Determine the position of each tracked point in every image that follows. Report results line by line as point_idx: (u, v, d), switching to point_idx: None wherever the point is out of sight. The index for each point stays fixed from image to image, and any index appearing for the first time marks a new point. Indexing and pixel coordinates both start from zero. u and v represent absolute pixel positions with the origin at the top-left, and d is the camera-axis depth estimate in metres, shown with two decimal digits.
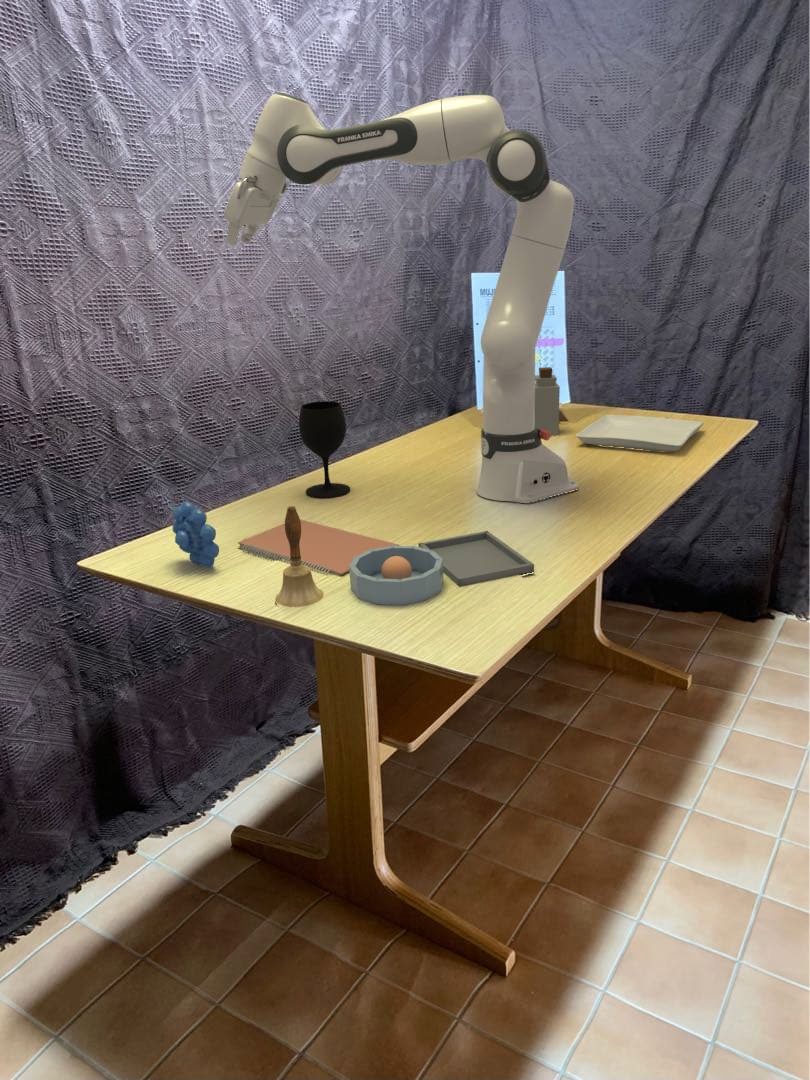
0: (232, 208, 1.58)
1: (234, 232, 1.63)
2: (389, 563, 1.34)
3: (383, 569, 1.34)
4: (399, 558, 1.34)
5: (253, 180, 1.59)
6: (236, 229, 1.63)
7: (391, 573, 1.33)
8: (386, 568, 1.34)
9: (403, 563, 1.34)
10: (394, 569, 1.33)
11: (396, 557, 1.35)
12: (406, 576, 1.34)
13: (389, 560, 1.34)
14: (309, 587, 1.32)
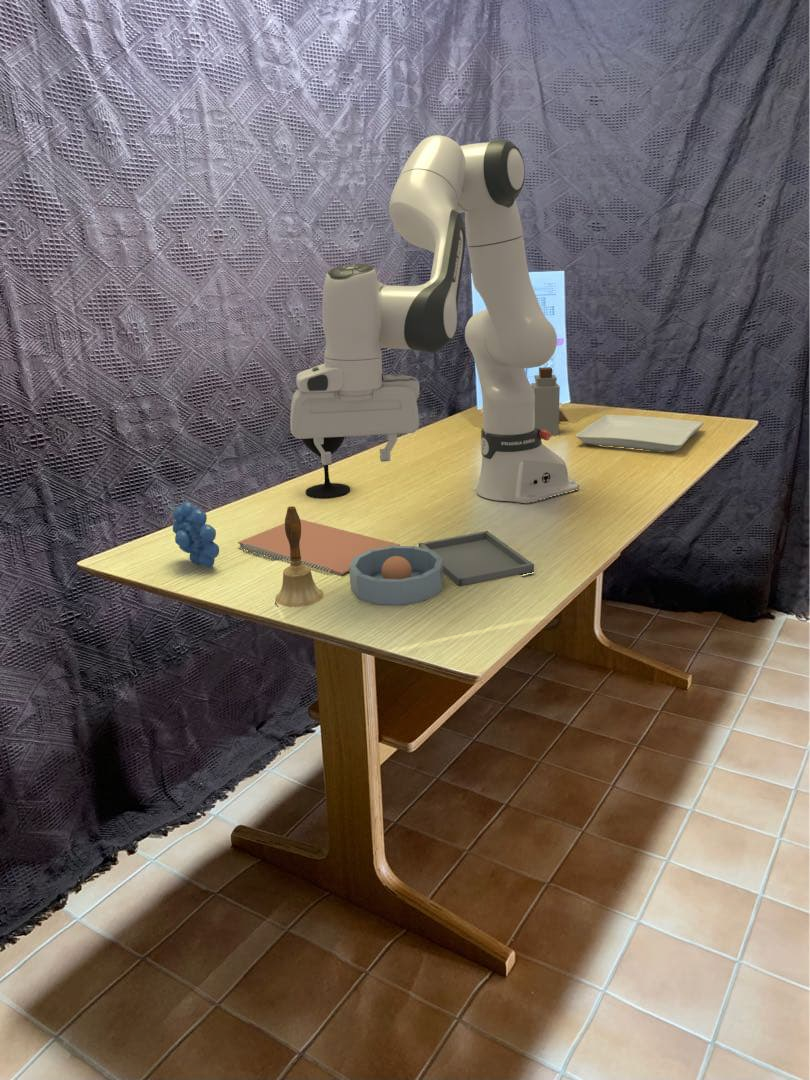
0: None
1: None
2: (389, 563, 1.34)
3: (383, 569, 1.34)
4: (399, 558, 1.34)
5: None
6: None
7: (391, 573, 1.33)
8: (386, 568, 1.34)
9: (403, 563, 1.34)
10: (394, 569, 1.33)
11: (396, 557, 1.35)
12: (406, 576, 1.34)
13: (389, 560, 1.34)
14: (309, 587, 1.32)
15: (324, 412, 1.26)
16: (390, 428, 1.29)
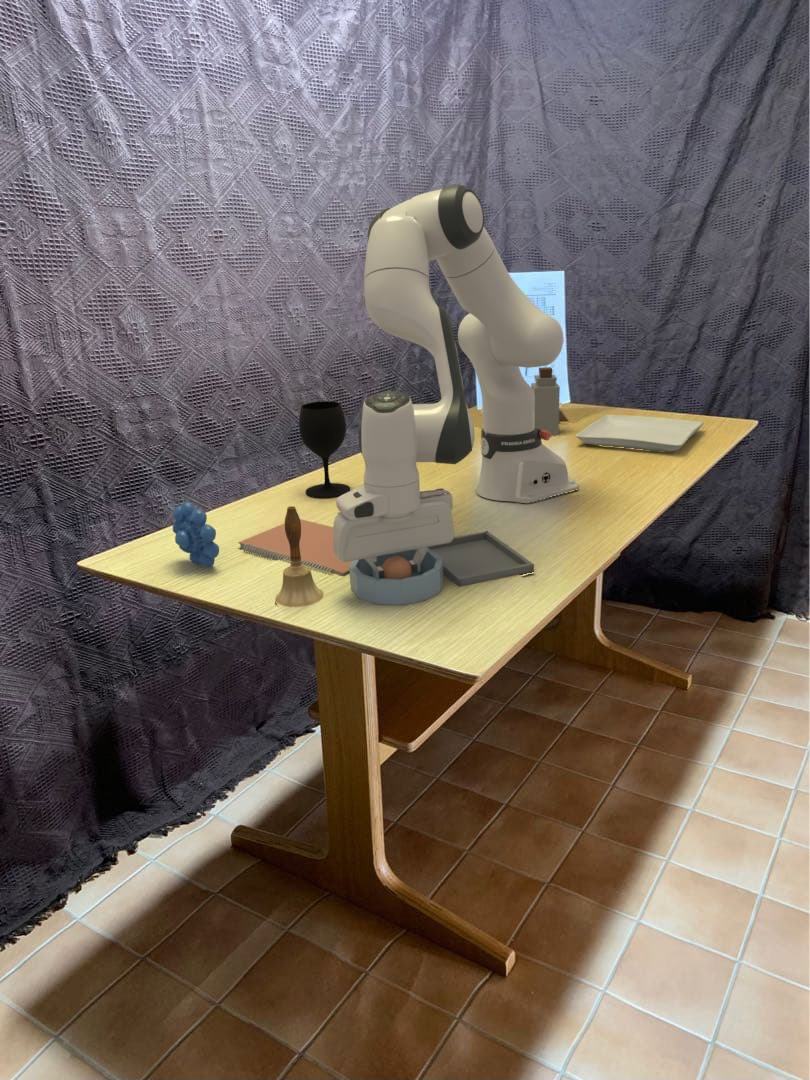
0: None
1: None
2: (389, 563, 1.34)
3: (383, 569, 1.34)
4: (399, 558, 1.34)
5: None
6: None
7: (391, 573, 1.33)
8: (387, 568, 1.34)
9: (403, 563, 1.34)
10: (394, 569, 1.33)
11: (396, 557, 1.35)
12: (406, 576, 1.34)
13: (389, 560, 1.34)
14: (309, 587, 1.32)
15: (368, 534, 1.30)
16: (429, 541, 1.34)
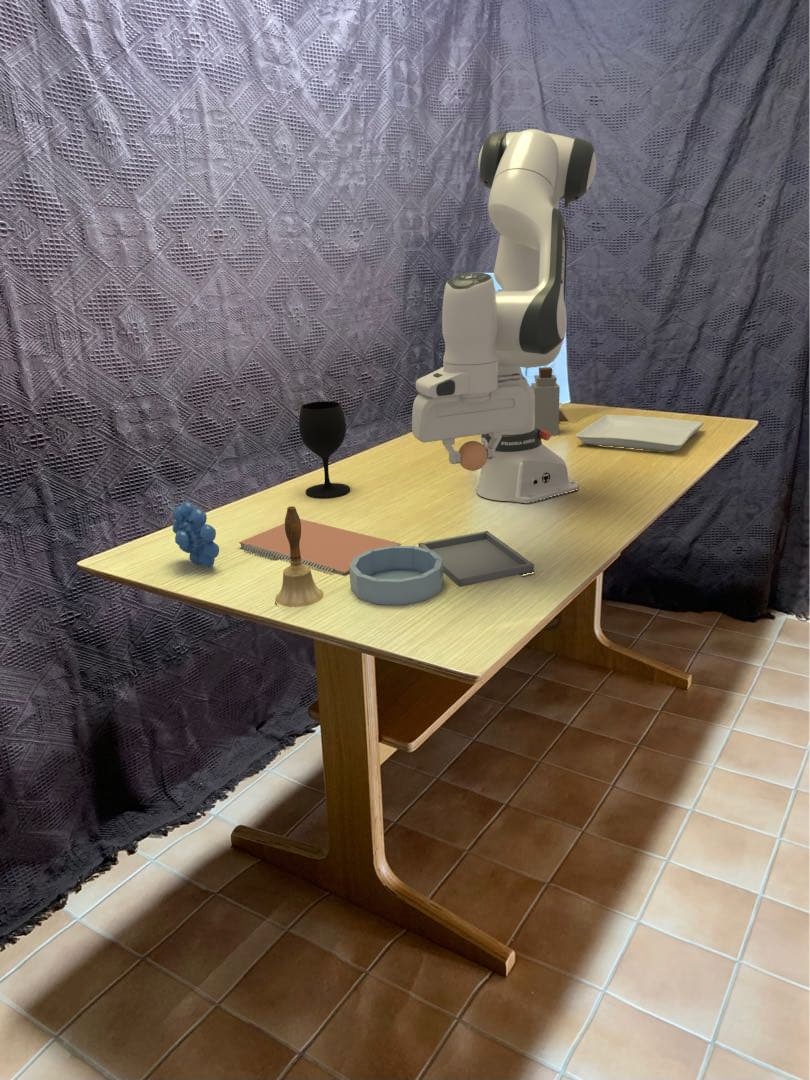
0: None
1: None
2: (466, 447, 1.36)
3: None
4: (476, 442, 1.37)
5: None
6: None
7: (469, 456, 1.36)
8: (464, 451, 1.36)
9: (480, 446, 1.36)
10: (472, 452, 1.36)
11: (472, 441, 1.37)
12: (483, 459, 1.36)
13: (466, 444, 1.37)
14: (309, 587, 1.32)
15: (448, 415, 1.32)
16: (505, 425, 1.37)
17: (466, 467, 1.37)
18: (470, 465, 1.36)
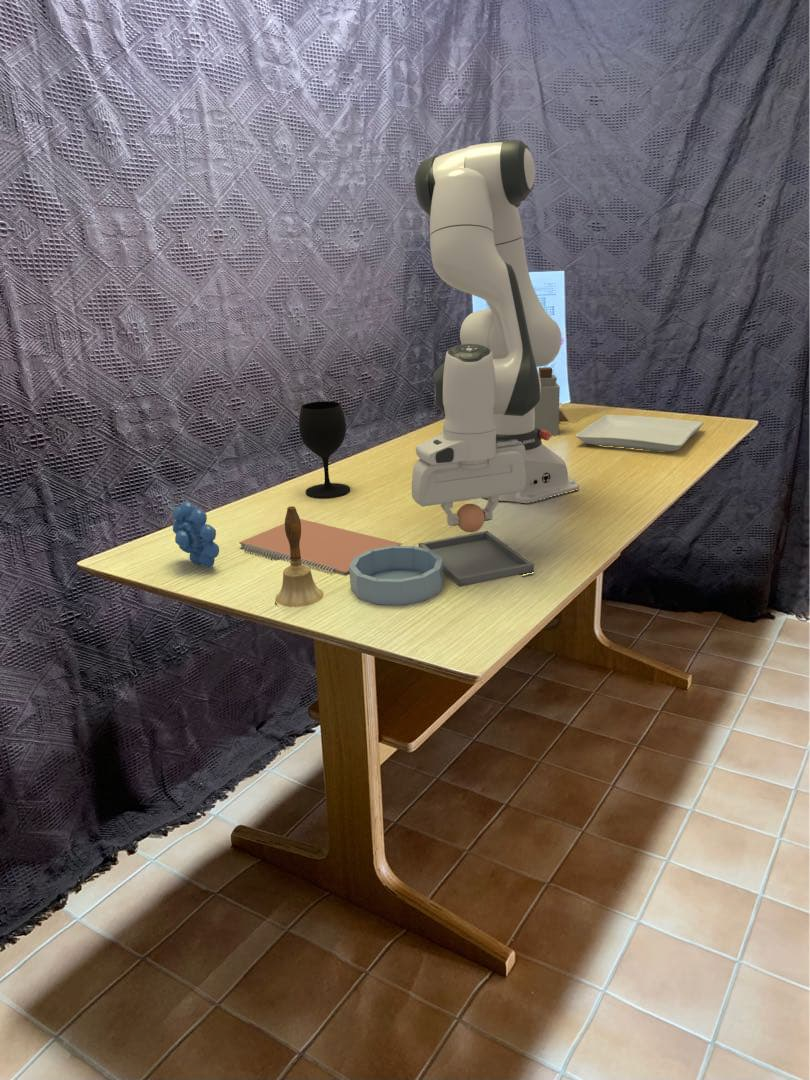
0: None
1: None
2: (464, 510, 1.40)
3: (458, 515, 1.41)
4: (473, 505, 1.41)
5: None
6: None
7: (466, 519, 1.40)
8: (462, 514, 1.40)
9: (477, 510, 1.40)
10: (469, 515, 1.40)
11: (470, 504, 1.41)
12: (480, 522, 1.40)
13: (464, 507, 1.41)
14: (309, 587, 1.32)
15: (446, 480, 1.36)
16: (502, 490, 1.40)
17: (464, 529, 1.41)
18: (468, 528, 1.40)
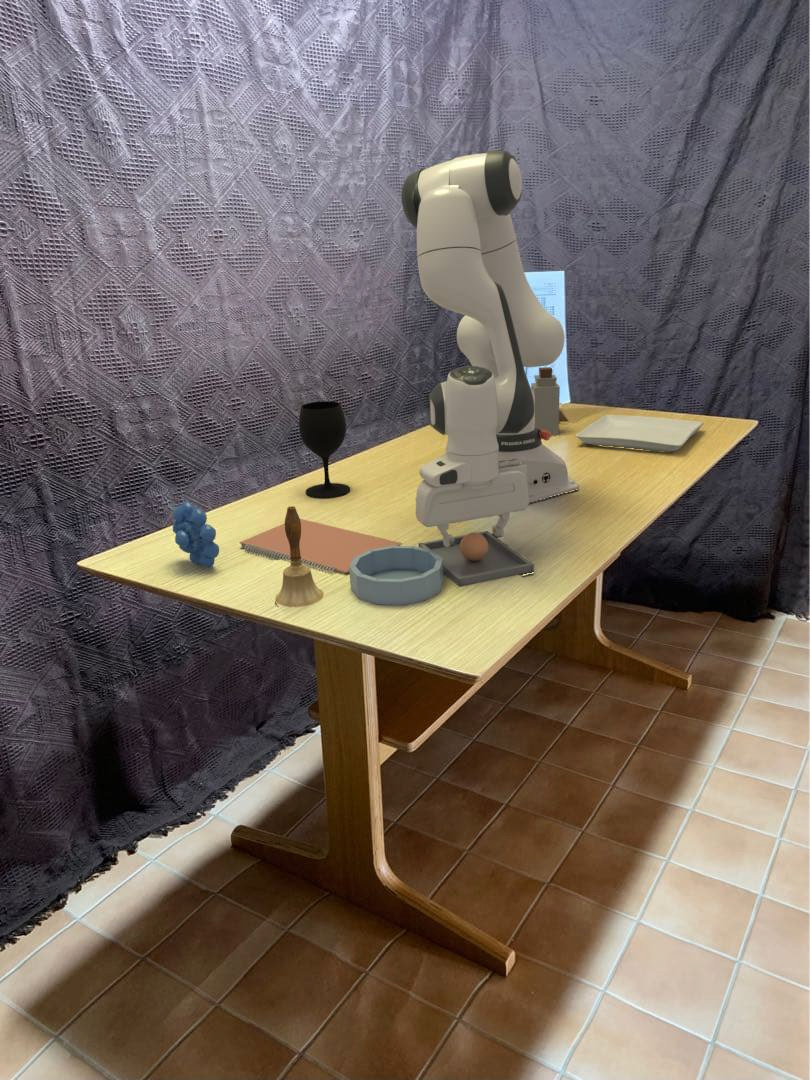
0: None
1: None
2: (468, 539, 1.42)
3: (462, 545, 1.43)
4: (477, 534, 1.43)
5: None
6: None
7: (471, 549, 1.42)
8: (466, 544, 1.42)
9: (481, 539, 1.42)
10: (473, 545, 1.42)
11: (474, 533, 1.43)
12: (484, 551, 1.42)
13: (468, 536, 1.43)
14: (309, 587, 1.32)
15: (450, 501, 1.38)
16: (505, 509, 1.42)
17: (468, 558, 1.43)
18: (472, 557, 1.42)
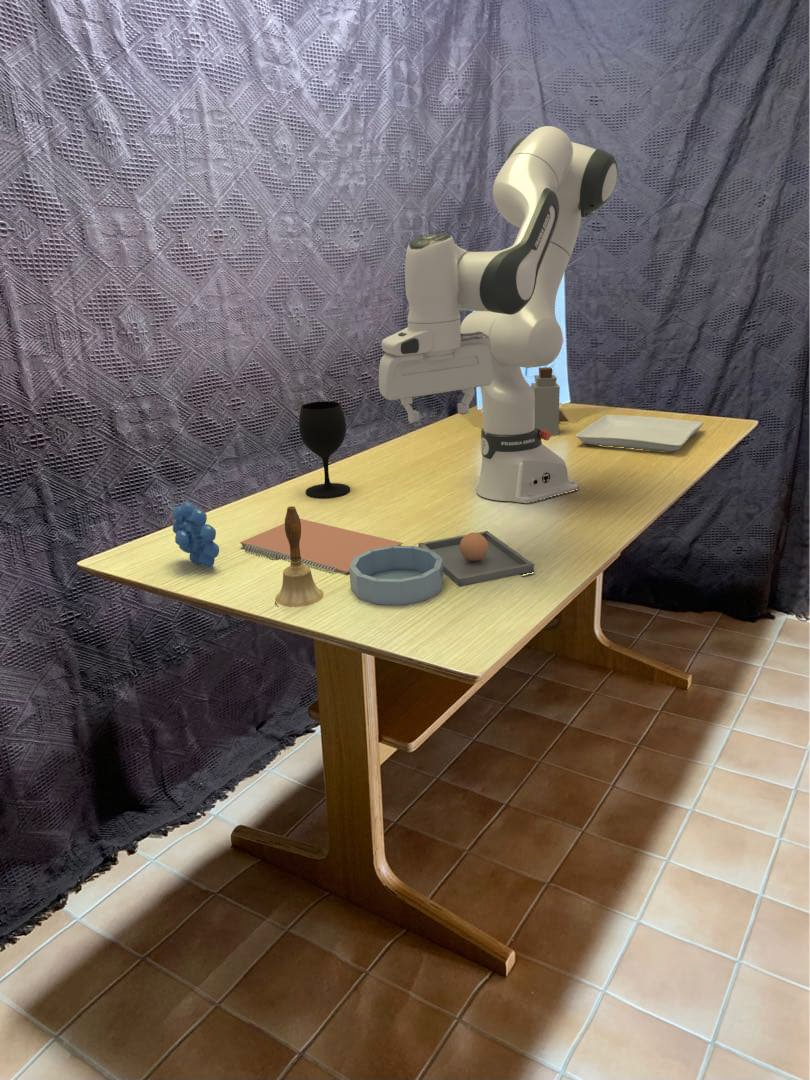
0: None
1: None
2: (468, 539, 1.42)
3: (462, 545, 1.43)
4: (477, 534, 1.43)
5: None
6: None
7: (470, 549, 1.42)
8: (465, 544, 1.42)
9: (481, 539, 1.42)
10: (473, 545, 1.42)
11: (474, 534, 1.43)
12: (484, 551, 1.42)
13: (467, 536, 1.43)
14: (309, 587, 1.32)
15: (413, 373, 1.37)
16: (469, 383, 1.41)
17: (468, 558, 1.43)
18: (472, 557, 1.42)
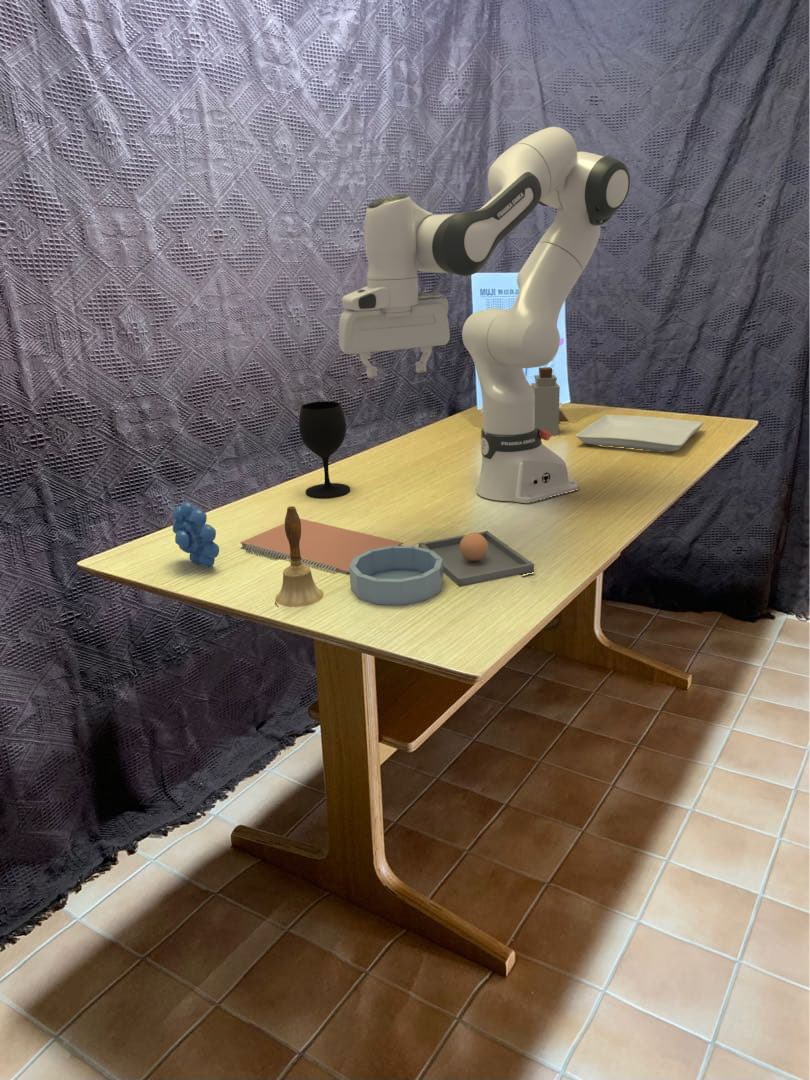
0: None
1: None
2: (468, 540, 1.42)
3: (462, 545, 1.43)
4: (476, 535, 1.43)
5: None
6: None
7: (470, 549, 1.42)
8: (465, 545, 1.42)
9: (480, 539, 1.42)
10: (473, 546, 1.42)
11: (473, 534, 1.43)
12: (484, 551, 1.42)
13: (467, 537, 1.43)
14: (309, 587, 1.32)
15: (371, 329, 1.43)
16: (426, 341, 1.47)
17: (468, 559, 1.43)
18: (472, 557, 1.42)
